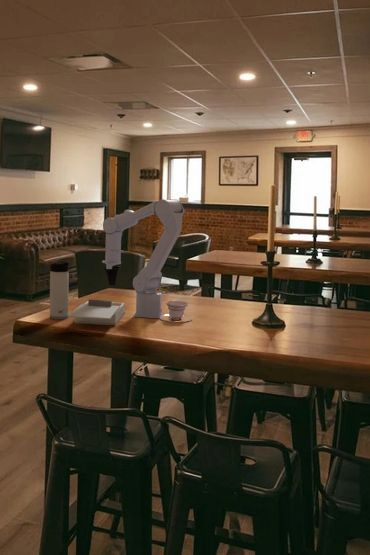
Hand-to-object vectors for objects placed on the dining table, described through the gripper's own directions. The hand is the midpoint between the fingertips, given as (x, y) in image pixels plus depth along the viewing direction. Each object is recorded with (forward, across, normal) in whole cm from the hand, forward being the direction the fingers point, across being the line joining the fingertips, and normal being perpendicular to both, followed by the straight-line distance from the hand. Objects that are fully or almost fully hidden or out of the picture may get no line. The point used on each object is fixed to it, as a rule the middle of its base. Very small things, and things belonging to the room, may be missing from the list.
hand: (112, 285), depth 202 cm
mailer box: (+9, +15, -1) cm, 18 cm away
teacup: (+10, +9, +25) cm, 29 cm away
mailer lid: (+5, +24, -1) cm, 25 cm away
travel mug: (+10, +18, -15) cm, 25 cm away
